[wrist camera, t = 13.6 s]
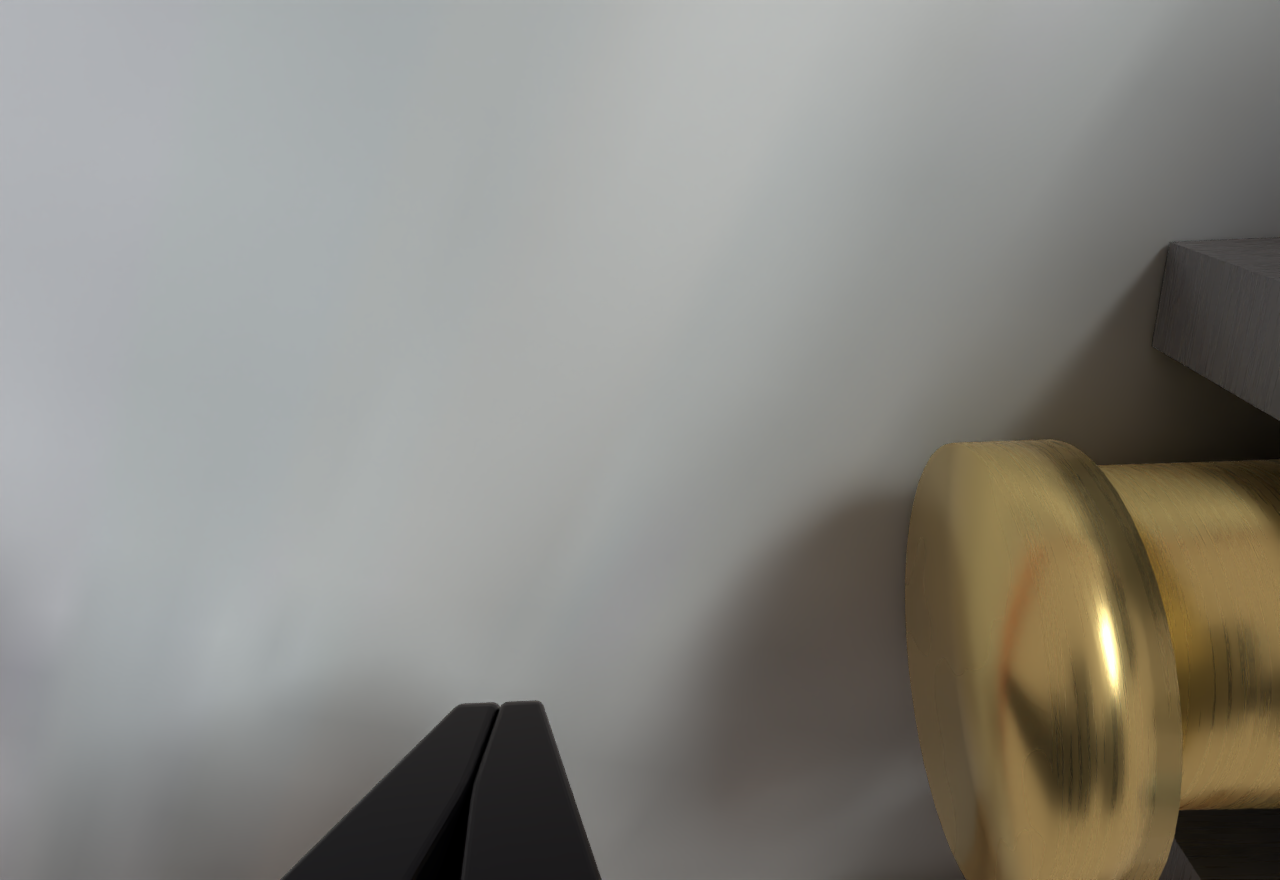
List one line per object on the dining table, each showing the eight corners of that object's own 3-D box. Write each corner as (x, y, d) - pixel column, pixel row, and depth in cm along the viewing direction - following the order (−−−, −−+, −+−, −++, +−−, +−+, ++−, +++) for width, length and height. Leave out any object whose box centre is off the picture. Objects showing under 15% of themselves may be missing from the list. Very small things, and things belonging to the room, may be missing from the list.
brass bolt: (1447, 362, 10) (1989, 571, 6) (1347, 688, 12) (1710, 1024, 8) (919, 382, 11) (1087, 594, 6) (895, 699, 12) (1015, 1030, 8)
